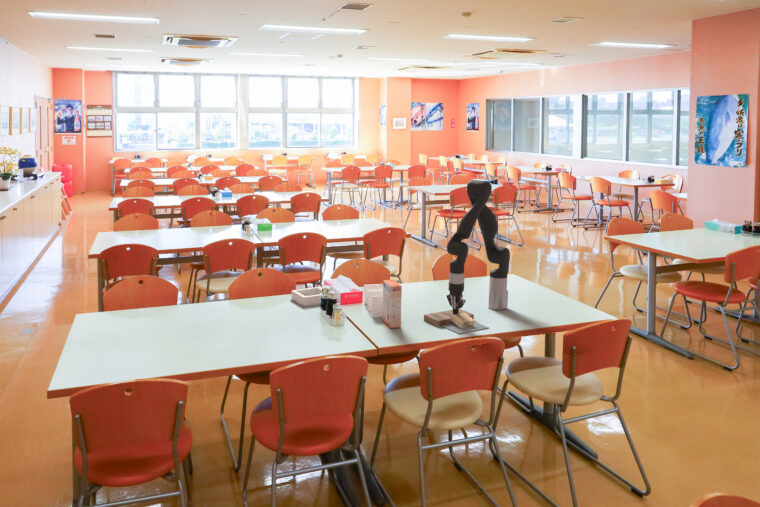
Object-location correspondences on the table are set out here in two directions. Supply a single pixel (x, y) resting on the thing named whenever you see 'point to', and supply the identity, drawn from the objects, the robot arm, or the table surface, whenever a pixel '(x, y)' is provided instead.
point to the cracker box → (392, 303)
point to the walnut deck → (443, 317)
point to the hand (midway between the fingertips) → (455, 315)
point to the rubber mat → (458, 330)
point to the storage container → (374, 299)
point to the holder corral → (307, 296)
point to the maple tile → (462, 320)
